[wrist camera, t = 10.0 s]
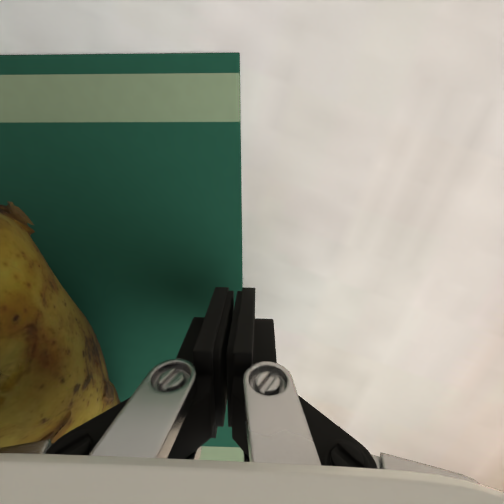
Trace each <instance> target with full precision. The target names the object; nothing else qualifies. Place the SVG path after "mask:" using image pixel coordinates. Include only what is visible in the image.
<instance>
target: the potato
mask: <svg viewBox="0 0 504 504" xmlns="http://www.w3.org/2000/svg"><path fill="white" fill-rule="evenodd" d="M7 203H8V205H7V206H5V205H1V204H0V448H2V447H7V446H13V445H19V444H24V443H30V442H35V441H41V440H47V439H50V441H51V443H55V442H56V441H57V440H58V439H59V438H60V437H62V436H63V435H65V434H66V433H68V432H69V431H71V430H73V429H75V428H76V427H78V426H80V425H82V424H84V423H85V422H87V421H89V420H91V419H92V418H94V417H96V416H98V415H100V414H101V413H103V412H105V411H107V410H108V409H110V408H112V407H114V406H116V405H117V404H119V403H121V402H120V400H119V397H118V394H117V391H116V389H115V387H114V385H113V384H112V383H111V382H110V381H109V377H108V372H107V368H106V364H105V359H104V356H103V353H102V350H101V347H100V343H99V342H98V340H97V338H96V334H95V333H94V330H93V328H92V326H91V325H90V324H89V322H88V320H87V319H86V317H85V315H84V314H83V313H82V312H81V310H80V309H79V308H78V307H77V305H76V304H75V303H74V301H73V300H72V299H71V297H70V296H69V295H68V293H67V292H66V291H65V289H64V288H63V287H62V285H61V284H60V282H59V281H58V279H57V278H56V276H55V275H54V273H53V271H52V270H51V268H50V267H49V265H48V264H47V262H46V260H45V259H44V257H43V255H42V254H41V252H40V250H39V249H38V247H37V246H36V244H35V243H34V241H33V240H32V238H31V236H30V235H31V234H32V233H34V232H35V231H34V230H33V229H31V228H30V227H29V226H28V224H27V223H29V224H31V225H34V224H33V223H32V221H31V220H30V219H29V217H28V216H27V215H26V214H25V213H24V212H23V211H22V210H21V209H20V208H19V207H17V206H14V204H13V202H10V201H7Z"/></svg>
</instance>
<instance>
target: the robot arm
mask: <svg viewBox="0 0 504 504" xmlns="http://www.w3.org/2000/svg"><path fill="white" fill-rule="evenodd" d="M227 404H228V427H232V439H233V440H234V441H235V442H236V443H237V445H238V446H239V447H240V448H241V449H242V450H243V462H237V461H214V460H199V459H200V456H201V450H202V445H203V444H204V443H205V442H207V441H208V440H209V439H210V438H216V434H217V428H218V427H223V426H224V420H225V413H226V405H227ZM0 504H504V492H502V491H500V490H497V489H494V488H490V487H487V486H484V485H481V484H480V483H478V482H477V481H475V480H474V479H472V478H469V477H467V476H465V475H462V474H459V473H455V472H452V471H448V470H444V469H441V468H437V467H433V466H429V465H426V464H422V463H418V462H415V461H411V460H407V459H403V458H400V457H396V456H392V455H389V454H385V453H381V454H380V457H378V456H374V455H371V454H370V453H369V451H368V450H367V449H366V448H365V447H364V446H363V445H362V444H360V443H359V442H358V441H357V440H355V439H354V438H353V437H351V436H350V435H349V434H348V433H346V432H345V431H344V430H342V429H341V428H340V427H339V426H337V425H336V424H335V423H333V422H332V421H331V420H329V419H328V418H327V417H326V416H324V415H323V414H322V413H320V412H319V411H318V410H317V409H315V408H314V407H313V406H311V405H310V404H309V403H308V402H306V401H305V400H304V399H302V398H301V397H300V396H298V394H297V391H296V388H295V385H294V382H293V379H292V376H291V374H290V373H289V371H288V370H287V369H286V368H285V367H283V366H281V365H280V364H278V363H277V362H276V349H275V336H274V323H273V319H255V288H242V291H237V295H236V301H235V306H234V291H229V287H215V290H214V292H213V295H212V298H211V301H210V304H209V307H208V309H207V312H206V315H205V317H194V318H193V319H192V322H191V324H190V326H189V329H188V331H187V333H186V336H185V338H184V341H183V343H182V345H181V348H180V350H179V352H178V355H177V357H176V359H170V360H166V361H163V362H161V363H159V364H157V365H156V366H154V367H153V368H152V369H151V370H150V371H149V372H148V374H147V375H146V377H145V378H144V379H143V381H142V382H141V384H140V385H139V386H138V388H137V389H136V390H135V392H134V393H133V395H132V396H131V397H130V398H128V399H126V400H125V401H123V402H121V403H119V404H117V405H116V406H114V407H112V408H110V409H108V410H107V411H105V412H103V413H101V414H100V415H98V416H96V417H94V418H92V419H91V420H89V421H87V422H85V423H84V424H82V425H80V426H78V427H76V428H75V429H73V430H71V431H69V432H68V433H66V434H65V435H63V436H62V437H60V438H59V439H58V440H57V441H56V442H55V443H51V441H50V439H47V440H41V441H35V442H30V443H24V444H19V445H13V446H7V447H2V448H0Z"/></svg>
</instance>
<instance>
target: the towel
mask: <svg viewBox="0 0 504 504" xmlns="http://www.w3.org/2000/svg"><path fill="white" fill-rule="evenodd" d="M7 201H10V202H13V204H14V206H17V207H19V208H20V209H21V210H22V211H23V212H24V213H25V214H26V215H27V216H28V217H29V219H30V220H31V221H32V223H33V224H34V225H31V224H29V223H27V224H28V226H29V227H30V228H31V229H33V230H34V231H35V232H34V233H32V234H31V235H30V236H31V238H32V240H33V241H34V243H35V244H36V246H37V247H38V249H39V250H40V252H41V254H42V255H43V257H44V259H45V260H46V262H47V264H48V265H49V267H50V268H51V270H52V271H53V273H54V275H55V276H56V278H57V279H58V281H59V282H60V284H61V285H62V287H63V288H64V289H65V291H66V292H67V293H68V295H69V296H70V297H71V299H72V300H73V301H74V303H75V304H76V305H77V307H78V308H79V309H80V310H81V312H82V313H83V314H84V315H85V317H86V319H87V320H88V322H89V324H90V325H91V326H92V328H93V330H94V333H95V334H96V338H97V340H98V342H99V343H100V347H101V350H102V353H103V356H104V359H105V364H106V368H107V372H108V377H109V381H110V382H111V383H112V384H113V385H114V387H115V389H116V391H117V394H118V397H119V400H120V402H123V401H125V400H126V399H128V398H130V397H131V396H132V395H133V393H134V392H135V390H136V389H137V388H138V386H139V385H140V384H141V382H142V381H143V379H144V378H145V377H146V375H147V374H148V372H149V371H150V370H151V369H152V368H153V367H154V366H156V365H157V364H159V363H161V362H163V361H166V360H170V359H176V357H177V355H178V352H179V350H180V348H181V345H182V343H183V341H184V338H185V336H186V333H187V331H188V329H189V326H190V324H191V322H192V319H193V318H194V317H205V315H206V312H207V309H208V307H209V304H210V301H211V298H212V295H213V292H214V290H215V287H229V291H234V306H235V301H236V295H237V291H242V212H241V132H240V54H239V53H170V54H72V55H0V204H1V205H5V206H7V205H8V203H7ZM199 460H214V461H237V462H243V450H242V449H241V448H240V447H239V446H238V445H237V443H236V442H235V441H234V440H233V439H232V427H228V404H227V405H226V413H225V420H224V426H223V427H218V428H217V434H216V438H210V439H209V440H208V441H207V442H205V443H204V444H203V445H202V450H201V456H200V459H199Z"/></svg>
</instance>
